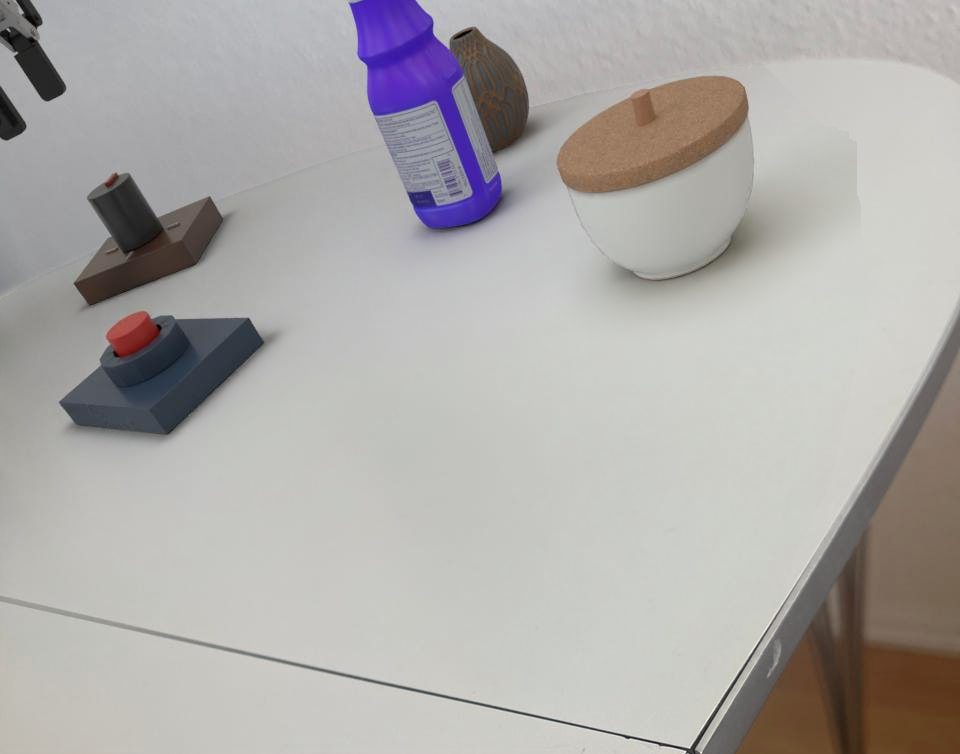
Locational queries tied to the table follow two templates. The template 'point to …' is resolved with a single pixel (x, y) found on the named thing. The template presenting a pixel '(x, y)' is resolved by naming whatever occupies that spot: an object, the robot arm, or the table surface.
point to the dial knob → (125, 212)
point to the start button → (132, 333)
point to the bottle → (425, 114)
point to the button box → (162, 375)
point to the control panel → (151, 253)
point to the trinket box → (663, 175)
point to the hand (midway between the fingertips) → (37, 115)
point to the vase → (492, 86)
